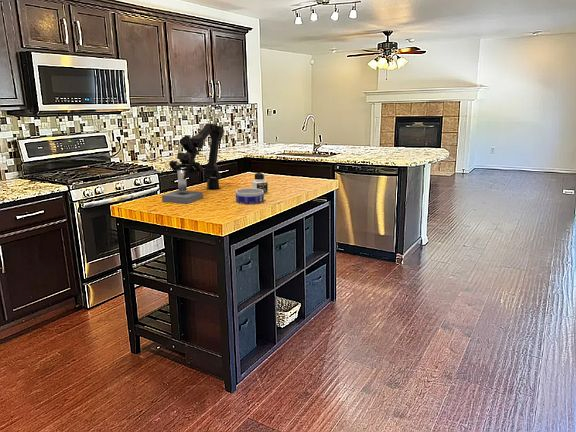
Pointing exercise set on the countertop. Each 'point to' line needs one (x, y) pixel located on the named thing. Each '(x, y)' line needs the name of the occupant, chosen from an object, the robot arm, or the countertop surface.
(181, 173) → the peg
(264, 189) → the medicine bottle
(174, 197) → the socket block
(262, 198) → the dog bowl
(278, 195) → the countertop surface
